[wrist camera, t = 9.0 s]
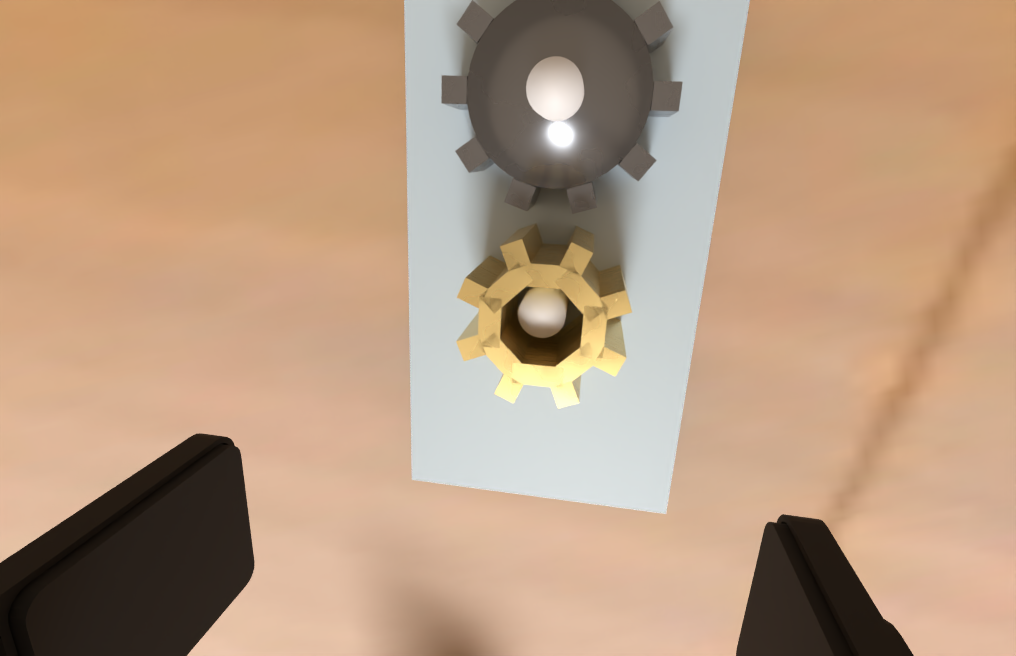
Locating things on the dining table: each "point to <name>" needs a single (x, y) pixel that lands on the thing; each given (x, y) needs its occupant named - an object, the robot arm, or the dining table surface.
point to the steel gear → (602, 115)
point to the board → (623, 235)
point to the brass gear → (568, 350)
